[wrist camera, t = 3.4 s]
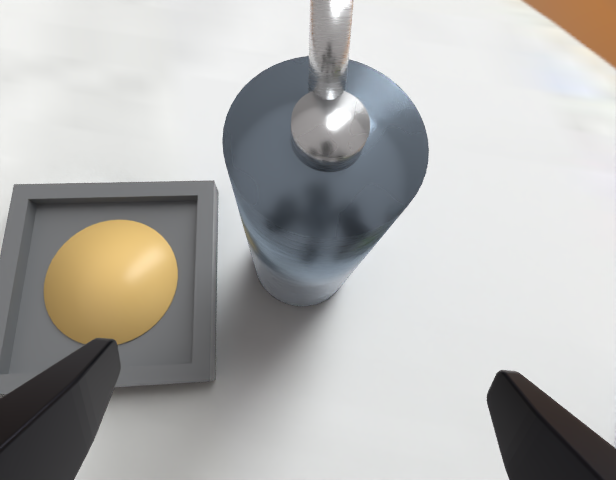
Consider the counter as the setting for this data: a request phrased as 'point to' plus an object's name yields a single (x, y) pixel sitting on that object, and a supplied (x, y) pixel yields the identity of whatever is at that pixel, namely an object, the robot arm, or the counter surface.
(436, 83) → the counter surface
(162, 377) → the tray
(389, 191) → the spout can
